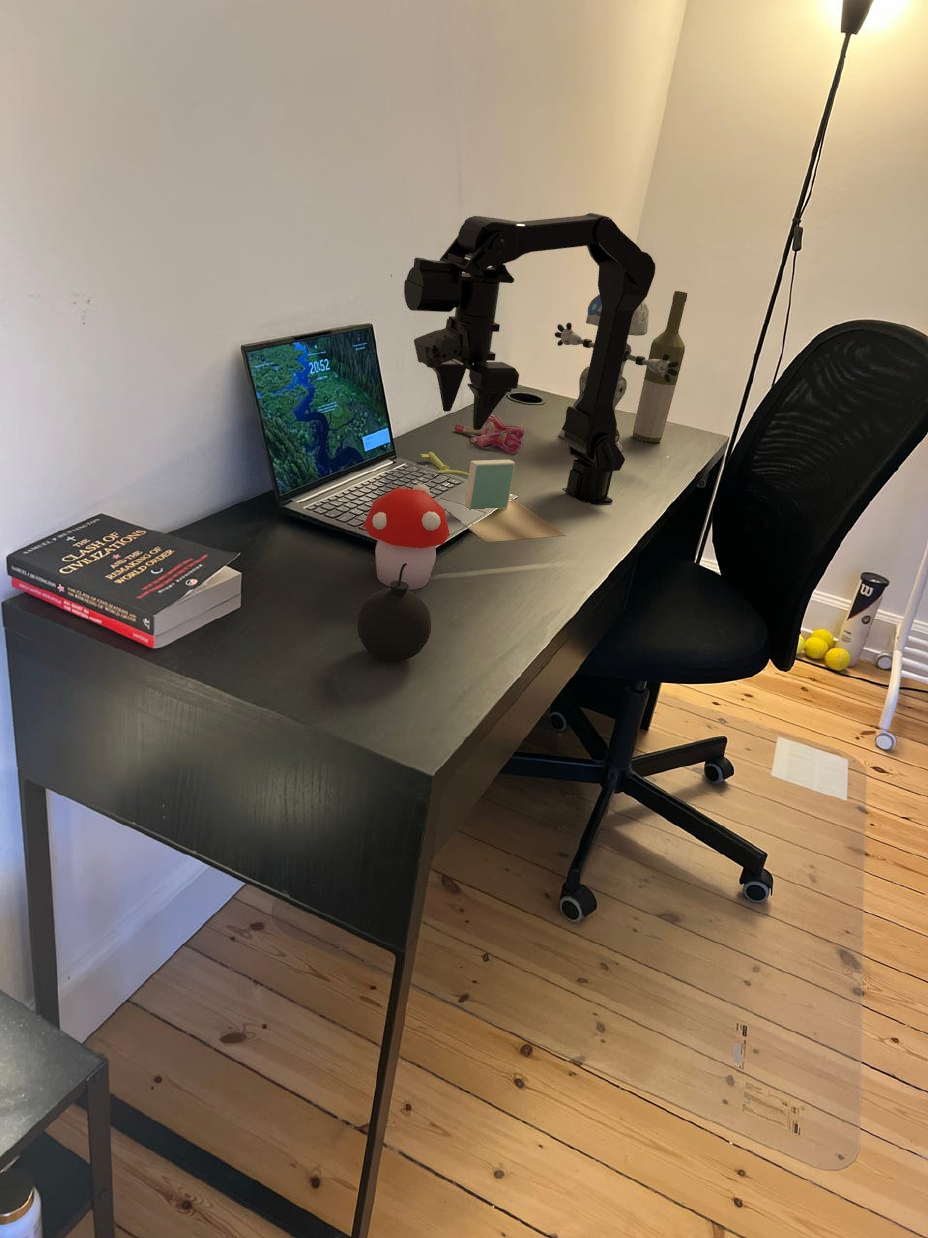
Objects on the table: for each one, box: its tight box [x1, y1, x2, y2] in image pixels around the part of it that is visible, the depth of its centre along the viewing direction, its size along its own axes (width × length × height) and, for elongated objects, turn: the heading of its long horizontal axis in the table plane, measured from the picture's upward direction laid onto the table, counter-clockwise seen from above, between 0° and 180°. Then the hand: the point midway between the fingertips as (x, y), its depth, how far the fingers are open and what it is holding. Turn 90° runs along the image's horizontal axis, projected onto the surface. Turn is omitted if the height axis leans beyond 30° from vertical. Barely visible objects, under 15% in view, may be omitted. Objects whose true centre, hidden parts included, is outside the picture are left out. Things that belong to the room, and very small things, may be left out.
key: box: [419, 451, 469, 477], centre depth 161 cm, size 7×12×2 cm, turn 44°
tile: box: [464, 459, 516, 510], centre depth 146 cm, size 7×2×8 cm, turn 120°
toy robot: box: [554, 293, 679, 452], centre depth 185 cm, size 31×12×30 cm, turn 42°
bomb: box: [356, 563, 432, 663], centre depth 100 cm, size 8×8×12 cm
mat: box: [468, 497, 567, 543], centre depth 144 cm, size 14×16×1 cm
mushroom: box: [362, 483, 451, 591], centre depth 119 cm, size 11×11×12 cm
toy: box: [454, 413, 525, 455], centre depth 180 cm, size 7×6×15 cm
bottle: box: [632, 290, 688, 443], centre depth 194 cm, size 7×7×30 cm
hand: (461, 420), depth 142 cm, fingers open, 9 cm apart
